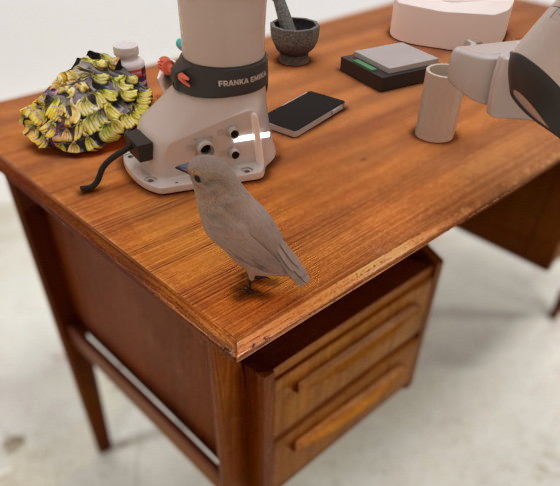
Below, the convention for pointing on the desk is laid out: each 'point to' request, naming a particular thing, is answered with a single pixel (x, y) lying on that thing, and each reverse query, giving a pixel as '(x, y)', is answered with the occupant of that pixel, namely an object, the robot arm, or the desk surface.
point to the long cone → (164, 80)
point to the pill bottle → (131, 59)
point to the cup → (438, 106)
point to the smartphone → (303, 113)
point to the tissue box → (450, 21)
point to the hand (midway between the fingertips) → (502, 42)
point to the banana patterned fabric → (87, 106)
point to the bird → (240, 223)
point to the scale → (388, 65)
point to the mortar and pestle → (293, 35)
